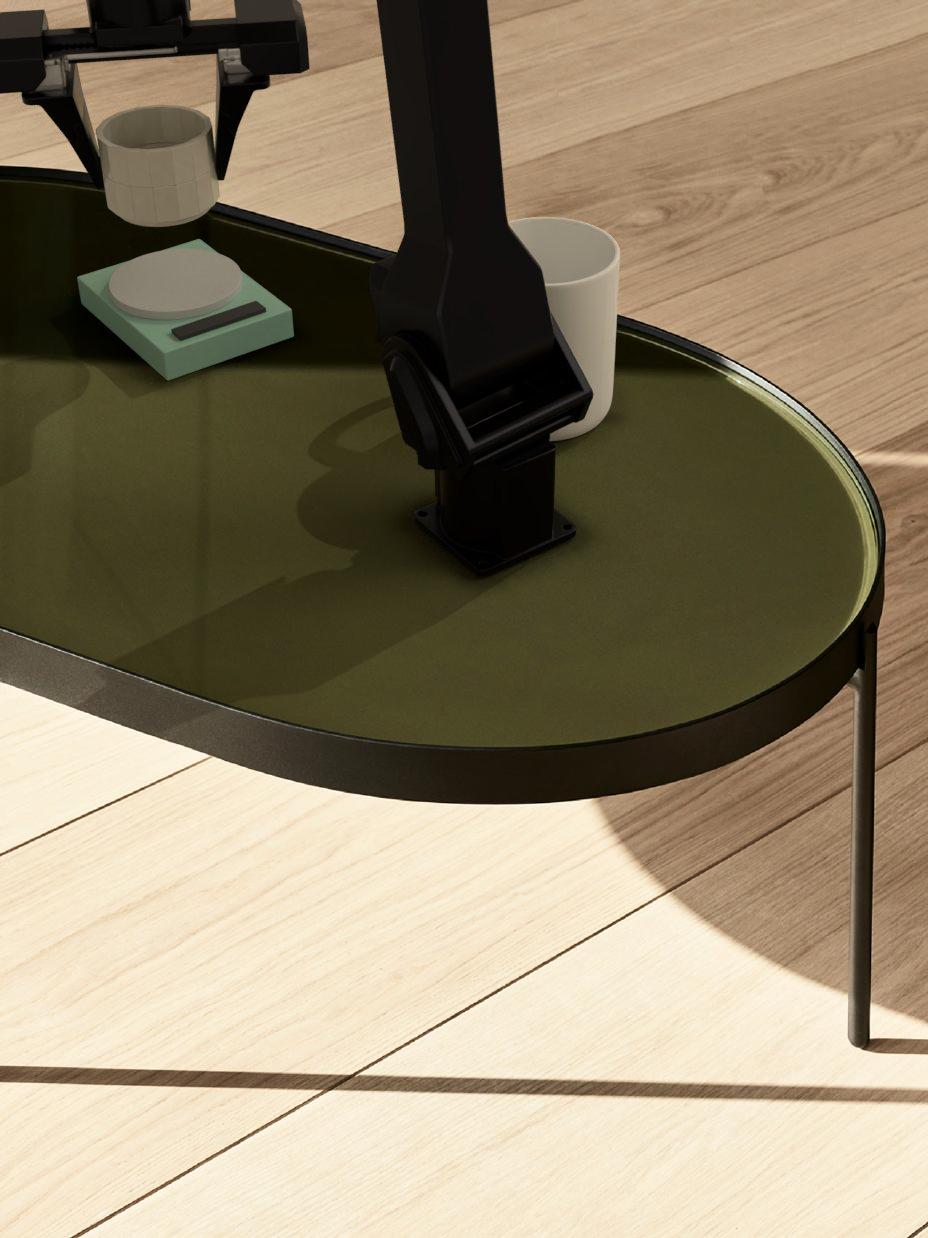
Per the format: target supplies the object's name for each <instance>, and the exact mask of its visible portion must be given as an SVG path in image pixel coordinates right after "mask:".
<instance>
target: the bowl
mask: <svg viewBox="0 0 928 1238" xmlns="http://www.w3.org/2000/svg"><path fill="white" fill-rule="evenodd" d="M95 134H96V135H95V136H96V142H97V145H98V149H99V154H100V160H101V167H102V173H103V180H104V193H105V198H106V204H107V205H106V206H107V209H108V210H110V211H111V212H112V213H113V214H115V215H116V216H117V217H120V218H121V220H123V221H124V222H126V223H129V224H132V225H137V226H140V227H151V228H163V227H171V226H172V227H174V226H178V225H184V224H187V223H189V222H190V223H191V222H192V221H195V220H197V219H199V218H201V217H203V216H204V215H206V214H207V213H208V212H209V211H210V209H211V208H213V207H214V206H215V205H216V203H217V201H218V200H219V198H220V197H221V194H220V193H221V192H220V184H219V181H218V178H217V169H216V159H215V137H214V129H213V125H212V121H211V118H210V116H208V115H207V114H205V113H204V112H203V111H200V110H199V109H195V108H191V107H187V106H184V105H174V104H173V105H172V104H154V105H153V104H152V105H144V106H142V105H141V106H137V107H133V108H128V109H125V110H122V111H118V112H116V113H114V114H112V115H110V116H108V117H106V118H105V119H103V120H102V121H101V122H100V123H99V124H98V126H97V127H96V128H95Z"/></svg>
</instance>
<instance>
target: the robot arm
mask: <svg viewBox="0 0 928 1238" xmlns="http://www.w3.org/2000/svg"><path fill="white" fill-rule="evenodd" d="M488 1H489V0H376V8H377V16H378V23H379V24H378V25H379V32H380V39H381V40H380V41H381V49H382V57H383V65H384V71H385V72H384V73H385V81H386V87H387V88H386V91H387V97H388V106H389V114H390V120H391V128H392V129H391V130H392V137H393V146H394V154H395V160H396V161H395V163H396V170H397V177H398V178H397V179H398V186H399V194H400V203H401V209H402V219H403V236H402V239H401V242H400V245H399V246H398V249H397V251H396V253H395V254H393V255H391V256H389V257H387V258H384V259H381V260H379V261H376V262H373V263H372V264H371V266H370V267H371V268H370V274H369V280H368V285H369V291H370V294H371V298H372V302H373V307H374V312H375V331H374V341H375V342H376V343H377V344H379V343H381V347H382V351H381V353H382V354H381V355H382V357H381V358H382V359H381V361H382V366H383V370H384V374H385V378H386V381H387V386H388V388H389V392H390V397H391V401H392V404H393V407H394V411H395V416H396V419H397V423H398V427H399V431H400V433H401V437H402V440H403V443H404V444H405V445H406V446H408V447H409V448H411V449H413V450H414V451H415V452H416V455H417V465H418V466H420V467H421V468H423V469H424V470H432V471H434V495H435V498H436V501H435V502H433V503H430V504H428V505H426V506H423V507H421V508H418V509H416V510H415V511H414V512H413V523H414V524H415V525H416V526H418V527H419V528H420V529H421V530H422V531H424V532H425V533H426V534H427V535H428V536H429V537H430V538H432V539H433V540H434V541H435V542H436V543H438V544H439V545H440V546H441V547H442V548H444V549H445V550H446V551H447V552H448V553H450V555H452V556H453V557H454V558H455V559H457V560H458V561H459V562H460V563H461V564H463V565H464V566H465V567H467V569H469V571H471V572H472V573H473V574H475V575H476V576H479V577H488V576H491V575H493V574H495V573H498V572H500V571H502V570H504V569H506V568H509V567H511V566H514V565H516V564H517V563H520V562H522V561H524V560H526V559H529V558H531V557H533V556H535V555H538V554H540V553H542V552H544V551H546V550H548V549H551V548H554V547H555V546H557V545H560V544H562V543H564V542H566V541H568V540H571V539H573V538H574V537H576V536H577V524H575V523H574V522H573V521H572V520H571V519H569V518H568V517H566V516H565V515H564V514H562V513H561V512H560V511H559V510H557V509H556V508H555V492H556V460H557V459H556V458H557V457H556V456H557V455H556V454H557V446H556V445H555V444H554V443H552V441H550V434H551V433H553V432H555V431H557V430H559V429H561V428H563V427H565V426H567V425H569V424H571V423H573V422H574V423H577V422H579V421H581V420H583V419H584V418H585V416H586V414H587V411H588V409H589V406H590V404H591V401H592V399H593V395H594V394H593V390H592V388H591V386H590V385H589V383H588V381H587V379H586V377H585V375H584V373H583V371H582V370H581V368H580V366H579V364H578V362H577V360H576V358H575V356H574V355H573V353H572V351H571V349H570V347H569V345H568V343H567V341H566V340H565V338H564V336H563V334H562V332H561V330H560V328H559V326H558V324H557V323H556V321H555V319H554V317H553V315H552V313H551V311H550V307H549V302H548V296H547V291H546V286H545V281H544V276H543V271H542V268H541V267H540V265H539V264H538V262H537V261H536V260H535V258H534V257H533V256H532V255H531V253H530V252H529V251H528V249H527V248H526V247H525V245H524V244H523V243H522V242H521V240H520V239H519V238H518V236H517V235H516V234H515V232H514V231H513V230H512V229H511V227H510V226H509V224H508V221H509V219H508V214H507V205H506V192H505V182H504V181H505V180H504V169H503V159H502V150H501V149H502V148H501V137H500V125H499V124H500V123H499V114H498V113H499V112H498V101H497V91H496V90H497V89H496V81H495V79H496V78H495V70H494V69H495V68H494V57H493V46H492V37H491V25H490V11H489V2H488ZM85 3H86V9H87V15H88V23H89V26H83V27H65V28H52V29H50V26H49V20H48V16H47V12H46V10H45V9H27V10H14V11H0V95H2V94H3V95H4V94H16V93H21V94H20V96H21V100H22V103H23V104H24V105H26V106H39V107H41V109H42V110H43V111H44V112H45V113H46V115H47V116H48V117H49V119H51V121H52V122H53V124H54V125H55V126H56V127H57V129H58V130H59V131H60V132H61V134H62V135H63V136H64V137H65V138H66V140H67V141H68V143H69V145H70V146H71V148H72V149H73V151H74V153H75V154H76V156H77V158H78V159H79V161H80V162H81V164H82V166H83V168H84V169H85V171H86V173H87V174H88V176H89V178H90V179H91V182H93V184H94V186H95V187H96V189H97V190H99V191H100V190H105V186H104V180H103V173H102V167H101V160H100V154H99V148H98V141H97V137H96V135H95V134H96V133H95V132H94V128H93V124H92V121H91V117H90V113H89V110H88V106H87V102H86V99H85V94H84V92H83V86H82V81H81V76H80V72H79V67H78V64H86V63H87V64H89V63H102V62H103V63H104V62H116V61H119V62H120V61H133V60H148V59H150V60H151V59H163V58H165V59H166V58H177V57H180V58H181V57H192V56H193V57H194V56H208V55H215V114H214V118H215V119H214V147H215V159H216V169H217V178H218V182H219V181H220V182H221V181H224V180H225V179H226V174H227V171H228V167H229V163H230V159H231V156H232V152H233V148H234V144H235V140H236V136H237V133H238V130H239V127H240V125H241V122H242V119H243V118H244V114H245V113H246V110H247V108H248V106H249V103H250V101H251V99H252V95H253V94H254V93H255V91H261V90H267V89H269V88H270V87H271V76H280V75H281V76H282V75H295V74H297V75H298V74H302V73H304V72H306V71H308V70H310V69H311V67H310V53H309V40H308V32H307V24H306V21H305V16H304V10H303V6H302V4H301V2H300V1H299V0H233V4H234V7H233V8H234V17H222V18H209V19H207V18H205V19H192V20H191V11H192V8H191V7H192V6H191V5H192V4H191V0H85Z"/></svg>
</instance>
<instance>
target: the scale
mask: <svg viewBox="0 0 928 1238" xmlns="http://www.w3.org/2000/svg"><path fill="white" fill-rule="evenodd" d="M76 280H77V286H78V292H79V296H80V302H81V305H82V306H83V307H85V309H87V310H88V311H89V312H90V313H91V314H92V315H93V316H94V317H96V318H97V319H98V320H99V321H100V322H101V323H102V324H104V325H105V326H106V327H107V328H108V330H110V331H111V332H112V333H113V334H114V335H116V336H117V337H118V338H119V339H120V340H121V341H122V342H123V343H125V344H126V345H127V346H128V347H129V348H130V349H131V350H132V351H134V352H135V353H136V355H138V356H139V357H140V358H141V359H142V360H144V362H146V363H147V364H148V365H149V366H150V367H151V368H152V369H154V371H156V372H157V373H158V374H159V375H161V377H163V378H164V379H165V380H166V381H172V380H175V379H177V378H180V377H183V376H186V375H189V374H192V373H194V372H197V371H200V370H202V369H203V370H204V369H207V368H209V367H212V366H214V365H217V364H220V363H223V362H225V361H228V360H229V361H230V360H231V359H234V358H237V357H240V356H242V355H245V354H248V353H251V352H254V351H256V350H260V349H263V348H265V347H268V346H271V345H275V344H277V343H280V342H283V341H285V340H288V339H291V338H293V337H295V332H294V320H293V310H292V308H291V307H290V306H288V305H287V304H286V303H284V302H283V301H282V300H280V299H279V298H277V296H276V295H274V294H273V293H271V292H270V291H269V290H268V289H266V288H264V287H263V286H262V285H260V284H259V283H258V282H257V281H255V280H254V279H253V278H252V277H250V276H249V275H248V274H246V273H245V272H244V271H242V270H241V268H240V266H239V265H238V263H236V262H235V261H234V260H233V259H231V258H230V257H228V256H226V255H223V254H221V253H219V252H217V251H216V250H215V249H214V248H212V247H211V246H210V245H208V244H207V243H206V242H204V241H203V240H202V239H200V238H197V239H194V240H191V241H188V242H185V243H181V244H178V245H175V246H172V247H169V248H166V249H162V250H158V251H154V252H150V253H145V254H142V255H140V256H137V257H135V258H132V259H130V260H126V261H124V262H120V263H118V264H115V265H111V266H108V267H105V268H101V269H98V270H95V271H91V272H89V273H85V274H82V275H79V276H77V278H76Z"/></svg>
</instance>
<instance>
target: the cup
mask: <svg viewBox="0 0 928 1238" xmlns="http://www.w3.org/2000/svg"><path fill="white" fill-rule="evenodd" d="M508 224H509V226H510V227H511V229H512V230H513V231H514V232H515V234H516V235H517V236H518V238H519V239H520V240H521V242H522V243H523V244H524V245H525V247H526V248H527V249H528V251H529V252H530V253H531V255H532V256H533V257H534V258H535V260H536V261H537V262H538V264H539V265H540V267H541V268H542V271H543V276H544V281H545V286H546V291H547V296H548V302H549V307H550V311H551V313H552V315H553V317H554V319H555V321H556V323H557V324H558V326H559V328H560V330H561V332H562V334H563V336H564V338H565V340H566V341H567V343H568V345H569V347H570V349H571V351H572V353H573V355H574V356H575V358H576V360H577V362H578V364H579V366H580V368H581V370H582V371H583V373H584V375H585V377H586V379H587V381H588V383H589V385H590V386H591V388H592V390H593V394H594V395H593V399H592V401H591V404H590V406H589V409H588V411H587V414H586V416H585V418H584V419H583V420H581V421H579V422H577V423H574V422H573V423H571V424H569V425H567V426H565V427H563V428H561V429H559V430H557V431H555V432H553V433H551V434H550V442H557V441H564V440H569V439H573V438H576V437H579V436H582V435H584V434H586V433H588V432H590V431H591V430H593V429H595V428H596V427H597V426H599V424H601V422H602V421H603V420H604V419H605V418H606V416H607V415H608V414H609V413H608V412H609V411H610V408H611V405H612V401H613V394H614V379H615V362H616V344H617V343H616V342H617V341H616V340H617V324H618V323H617V322H618V305H619V304H618V302H619V284H620V265H621V263H620V262H621V249H620V246H619V244H618V242H617V240H616V239H615V238H614V237H613V236H612V235H611V234H610V233H609V232H607V231H605V230H604V229H602V228H600V227H598V226H596V225H593V224H592V223H587V222H585V221H582V220H577V219H572V218H566V217H558V216H557V217H556V216H531V217H523V218H516V219H511V220H508Z"/></svg>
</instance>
